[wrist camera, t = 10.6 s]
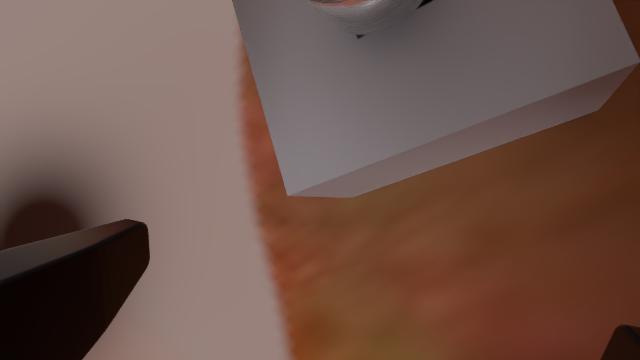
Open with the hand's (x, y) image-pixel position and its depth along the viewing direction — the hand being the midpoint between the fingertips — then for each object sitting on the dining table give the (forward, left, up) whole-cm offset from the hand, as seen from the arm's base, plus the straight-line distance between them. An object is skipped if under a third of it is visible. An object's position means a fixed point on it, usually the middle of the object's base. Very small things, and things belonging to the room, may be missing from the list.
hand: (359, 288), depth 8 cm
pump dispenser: (+7, -4, -10) cm, 13 cm away
